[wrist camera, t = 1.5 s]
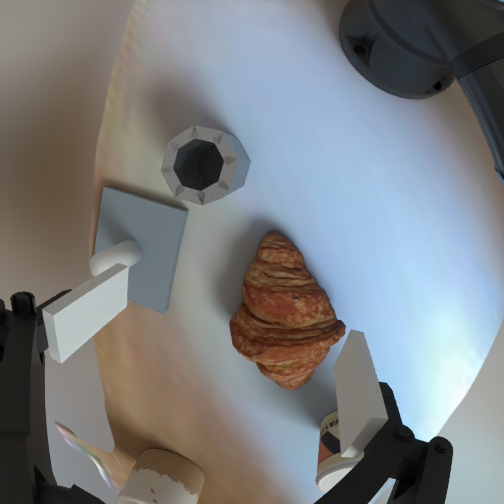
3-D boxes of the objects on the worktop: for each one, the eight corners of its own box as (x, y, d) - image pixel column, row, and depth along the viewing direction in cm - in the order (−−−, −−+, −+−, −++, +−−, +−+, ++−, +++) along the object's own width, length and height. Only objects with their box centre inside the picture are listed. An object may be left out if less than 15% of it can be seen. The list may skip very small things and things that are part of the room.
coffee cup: (334, 398, 39) (339, 461, 27) (383, 411, 38) (396, 468, 27) (305, 433, 42) (303, 491, 30) (351, 443, 41) (357, 497, 30)
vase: (214, 468, 48) (193, 531, 32) (195, 489, 53) (176, 541, 37) (146, 438, 49) (113, 497, 33) (138, 464, 53) (111, 513, 37)
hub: (198, 129, 32) (174, 120, 25) (256, 144, 31) (245, 137, 24) (182, 186, 34) (155, 191, 27) (238, 203, 33) (223, 211, 27)
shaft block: (108, 186, 35) (68, 192, 27) (188, 210, 34) (158, 222, 26) (96, 279, 39) (62, 301, 31) (167, 310, 38) (139, 340, 31)
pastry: (197, 311, 38) (175, 343, 30) (274, 224, 34) (267, 240, 26) (291, 383, 39) (288, 422, 32) (373, 313, 35) (389, 347, 27)
